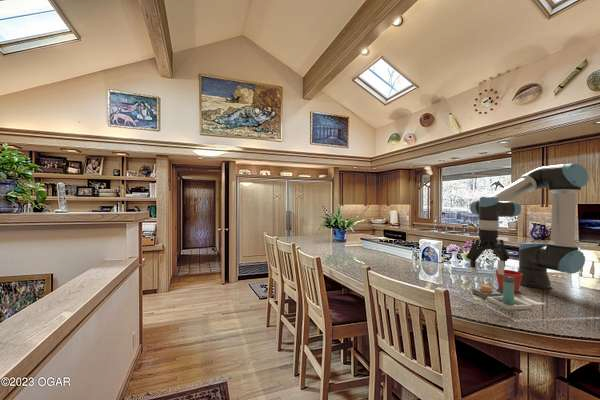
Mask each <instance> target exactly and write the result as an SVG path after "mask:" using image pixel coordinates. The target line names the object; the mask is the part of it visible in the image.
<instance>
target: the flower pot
mask: <svg viewBox="0 0 600 400" xmlns="http://www.w3.org/2000/svg"><path fill="white" fill-rule="evenodd" d="M495 275H496V282H497V286H498V289H500V290H501V291H503V276H511V277H514V293H516V292H519V289H520V287H521V284H520V283H521V279H522V273H520V272H518V270H517V271H516V270H511V269H504V275H501V274H498V269H495Z"/></svg>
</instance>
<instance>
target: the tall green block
mask: <svg viewBox="0 0 600 400" xmlns="http://www.w3.org/2000/svg"><path fill="white" fill-rule="evenodd" d="M502 295H503V300H502V303H504V304H506V305H515V303H514V295H515V292H514V277H511V276H503V290H502Z"/></svg>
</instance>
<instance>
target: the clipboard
mask: <svg viewBox="0 0 600 400" xmlns="http://www.w3.org/2000/svg"><path fill="white" fill-rule="evenodd" d="M501 296H503V294H501ZM514 298H515V299H517V300H519V301H522V302H524V303H527V304H529V305H532V306H533V305H534V306H535V305H536V306H537V305H546V303H545V302H543V301H542V300H541V299H538V298H535V297H534V296H533V297H532V296H530V295H523V294H521V293H520V294H514Z"/></svg>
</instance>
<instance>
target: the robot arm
mask: <svg viewBox="0 0 600 400" xmlns="http://www.w3.org/2000/svg"><path fill="white" fill-rule="evenodd" d="M588 182H589V173H588V171H587V169H586V168H585V167H584V166H583V165H582V164H580V163H576V162H575V163H563V164H561V163H560V164H555V165H546V166H545V165H544V166H541V167H537V168H535V169H533V170H531V171H529V172H527V173H525V174H522V175H521V176H519V177H518V179H517V180H516V181H515V182H513V183H511V184H509V185H507V186H505V187H503V188H501V189H500V190H498V191H497V192H495V193H493V194H491V195H489V196H481V197H479V200H473V201H472V202H471V203H470V205H469V211H470V212H471V214H472V215H475V216H477V215H478V228H479V229H478V237H479V239H477V238H476V239H473V240H472V245H471V247H470V249H469V251H468V253H467V255H466V259H467V260H469V261H470V267H471V274H472V275H474V276H478V274H479V272H478V269H479V268H478V267H479V266H478V264H479V263H478V258H479V257H480V256H481V254H482V253H483V252H484V251H486V250H492V251H493V253H494V254H495V255H496V256H497V258H498V259H497V270H498V274H501V275H504V270H505V267H506V262H507V261H508V260H510V256H509V253H508V251H507V249H506V246H505V243H504V240H503V239H500V238H499V218H500V217H503V218H505V217H506V218H508V217H509V218H513V217H514V218H515V217H518V216H519V215H521V213H522V206H521V204H520V203H519V202H518V201H515V199H517V198H519V197H521V196H523V195H525V194H526V193H528V192H529V193H530V192H531V193H532V192H533V191H536V190H538V189H539V190H540V189H548V191H549V192H550V193H551V194H552V197H551V198H552V199H551V201H552V202H551V203H552V204H551V223H550V241H548V242H521V243H520V244H519V245H518V246H519V249H518V261H519V262H518V270H517V272H520V273H522V279H521V283H520V286H525V287H528V288H536V289H551V288H552V282H551V279H550V277H549V274H548V270H552V271H556V272H559V273H566V274H570V275H571V274H573V275H574V274H576V273H578V272H580V271H581V270H583V267H584V266H585V262H586V257H585V254H584V252H582V251H580V250H579V245H578V244H577V243H575V232H576V231H575V229H576V210H577V209H576V208H577V207H576V206H577V195H578V194H579V193H580V192H581V191H582V187H583V188H584V187H585V186H587V184H588ZM513 200H514V201H513ZM547 269H548V270H547Z"/></svg>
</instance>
